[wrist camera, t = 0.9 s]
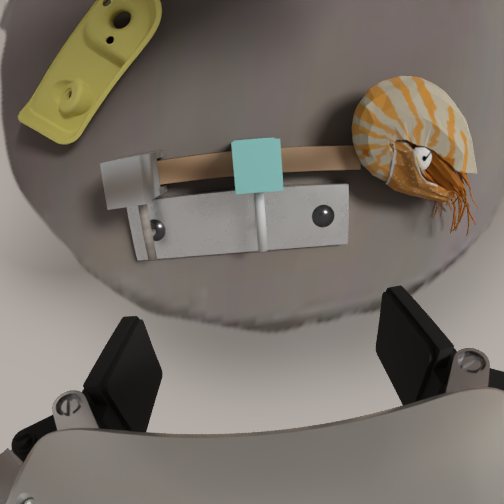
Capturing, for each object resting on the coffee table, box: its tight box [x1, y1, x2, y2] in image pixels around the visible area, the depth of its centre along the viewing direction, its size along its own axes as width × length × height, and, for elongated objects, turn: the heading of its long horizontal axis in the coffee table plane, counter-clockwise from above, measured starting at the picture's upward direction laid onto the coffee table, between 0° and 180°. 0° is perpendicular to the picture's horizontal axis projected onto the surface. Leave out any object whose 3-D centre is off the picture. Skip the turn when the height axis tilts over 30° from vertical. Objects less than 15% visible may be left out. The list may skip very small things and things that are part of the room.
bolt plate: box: [127, 183, 349, 260], centre depth 33 cm, size 7×25×1 cm, turn 95°
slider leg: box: [231, 138, 283, 252], centre depth 28 cm, size 11×4×8 cm, turn 5°
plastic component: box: [18, 0, 162, 144], centre depth 24 cm, size 20×7×10 cm
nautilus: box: [352, 76, 478, 236], centre depth 27 cm, size 8×22×15 cm
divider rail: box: [100, 146, 361, 261], centre depth 29 cm, size 11×25×8 cm, turn 95°
